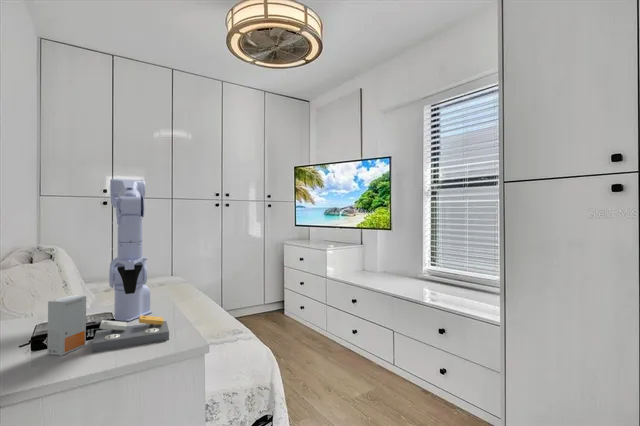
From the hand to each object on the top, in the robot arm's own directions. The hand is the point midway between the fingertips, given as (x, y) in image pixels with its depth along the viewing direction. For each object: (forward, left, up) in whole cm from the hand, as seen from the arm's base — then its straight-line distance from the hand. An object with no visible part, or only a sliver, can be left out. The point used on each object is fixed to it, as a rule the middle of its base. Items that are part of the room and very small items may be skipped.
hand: (130, 293), depth 87 cm
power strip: (+3, +4, -10) cm, 12 cm away
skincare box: (+13, -5, -11) cm, 17 cm away
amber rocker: (-1, +6, -7) cm, 9 cm away
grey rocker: (+5, 0, -7) cm, 8 cm away
